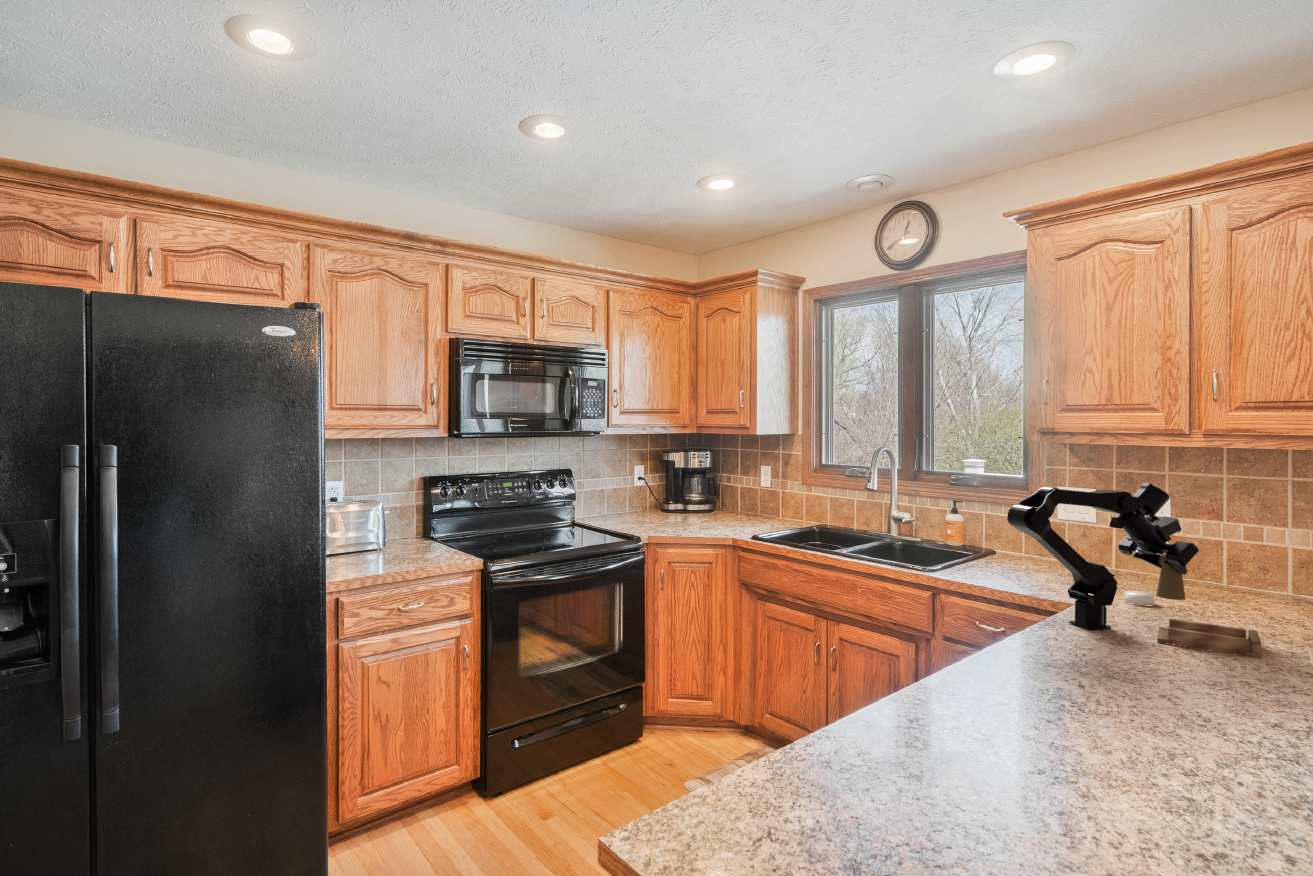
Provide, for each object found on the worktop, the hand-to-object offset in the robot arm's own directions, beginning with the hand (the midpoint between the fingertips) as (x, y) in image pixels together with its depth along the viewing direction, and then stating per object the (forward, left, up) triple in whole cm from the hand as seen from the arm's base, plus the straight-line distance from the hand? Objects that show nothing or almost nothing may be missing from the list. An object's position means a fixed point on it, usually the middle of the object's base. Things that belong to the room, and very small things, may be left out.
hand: (1176, 571), depth 173 cm
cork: (-1, 0, -7) cm, 7 cm away
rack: (-10, -16, -13) cm, 23 cm away
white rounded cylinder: (+10, +18, -13) cm, 25 cm away
